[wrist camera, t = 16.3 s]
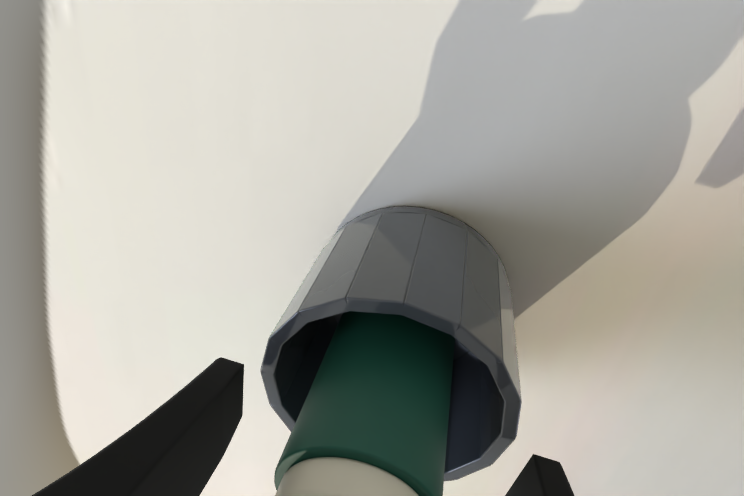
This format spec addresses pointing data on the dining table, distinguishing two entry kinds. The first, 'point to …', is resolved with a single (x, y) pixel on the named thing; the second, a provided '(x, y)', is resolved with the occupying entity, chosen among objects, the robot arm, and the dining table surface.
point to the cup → (420, 303)
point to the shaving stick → (373, 413)
